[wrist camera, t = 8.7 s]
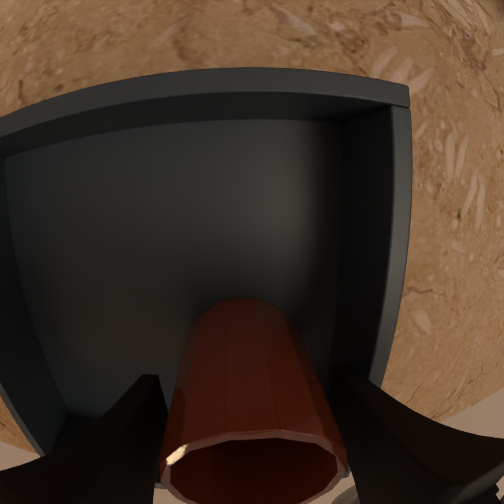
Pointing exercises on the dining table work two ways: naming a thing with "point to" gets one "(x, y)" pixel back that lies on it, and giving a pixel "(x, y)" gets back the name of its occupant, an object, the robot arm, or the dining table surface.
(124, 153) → the bin
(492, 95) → the dining table surface
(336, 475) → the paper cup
